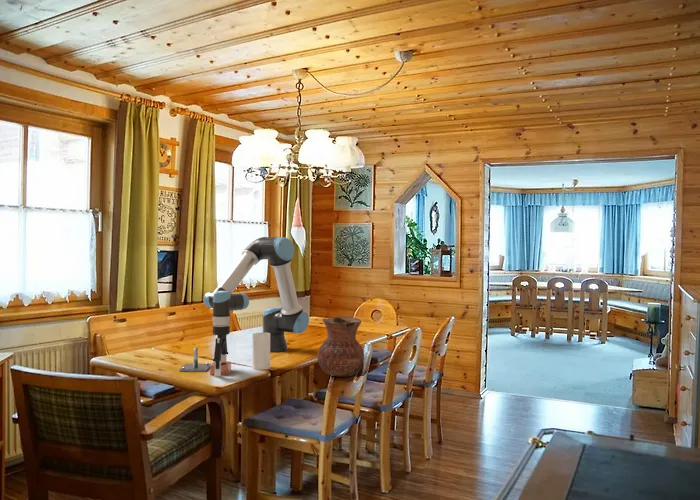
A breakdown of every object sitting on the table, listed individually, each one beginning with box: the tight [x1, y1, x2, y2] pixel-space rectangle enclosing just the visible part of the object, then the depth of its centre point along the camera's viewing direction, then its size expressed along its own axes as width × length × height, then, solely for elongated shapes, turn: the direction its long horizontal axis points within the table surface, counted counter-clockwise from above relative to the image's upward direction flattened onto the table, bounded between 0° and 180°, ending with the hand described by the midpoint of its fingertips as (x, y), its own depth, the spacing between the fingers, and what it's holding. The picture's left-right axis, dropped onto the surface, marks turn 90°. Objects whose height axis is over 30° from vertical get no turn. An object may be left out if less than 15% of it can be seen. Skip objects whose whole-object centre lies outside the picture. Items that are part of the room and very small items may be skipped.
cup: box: [251, 332, 271, 371], centre depth 257 cm, size 8×8×16 cm
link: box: [209, 361, 232, 376], centre depth 246 cm, size 8×8×4 cm
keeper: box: [178, 347, 212, 373], centre depth 253 cm, size 12×12×10 cm
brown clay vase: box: [317, 316, 365, 378], centre depth 248 cm, size 22×21×25 cm
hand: (220, 372), depth 246 cm, fingers open, 13 cm apart
